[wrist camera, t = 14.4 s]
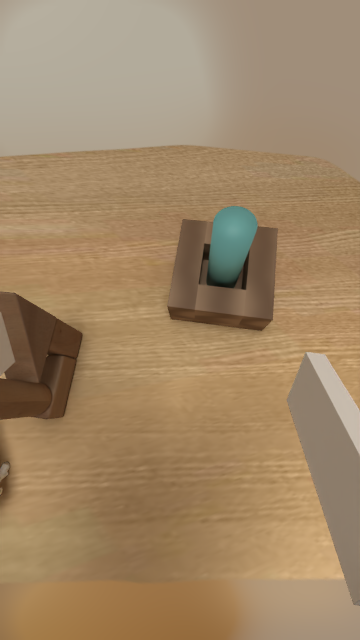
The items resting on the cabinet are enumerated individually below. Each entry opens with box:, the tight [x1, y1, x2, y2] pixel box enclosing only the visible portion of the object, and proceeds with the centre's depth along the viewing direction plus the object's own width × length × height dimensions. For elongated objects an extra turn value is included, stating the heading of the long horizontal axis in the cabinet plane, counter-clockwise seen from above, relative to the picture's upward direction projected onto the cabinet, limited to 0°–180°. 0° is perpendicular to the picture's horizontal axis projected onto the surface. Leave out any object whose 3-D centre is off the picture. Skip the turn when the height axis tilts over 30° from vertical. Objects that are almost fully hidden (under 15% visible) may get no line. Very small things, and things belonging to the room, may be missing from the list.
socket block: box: [168, 219, 278, 331], centre depth 34 cm, size 12×12×5 cm
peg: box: [206, 206, 257, 289], centre depth 30 cm, size 4×4×12 cm
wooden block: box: [0, 292, 82, 420], centre depth 25 cm, size 4×11×18 cm, turn 173°
